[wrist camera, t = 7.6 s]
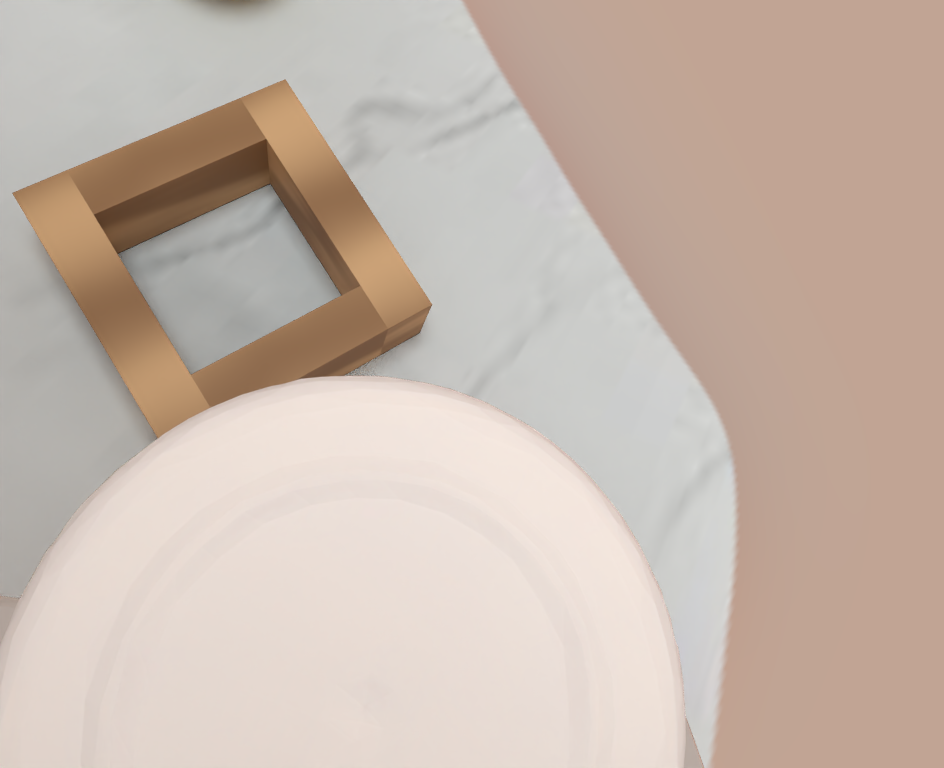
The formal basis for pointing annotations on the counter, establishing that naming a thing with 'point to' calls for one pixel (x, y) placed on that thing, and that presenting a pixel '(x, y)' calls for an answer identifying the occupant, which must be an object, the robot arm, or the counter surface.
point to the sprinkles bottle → (344, 599)
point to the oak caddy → (197, 192)
